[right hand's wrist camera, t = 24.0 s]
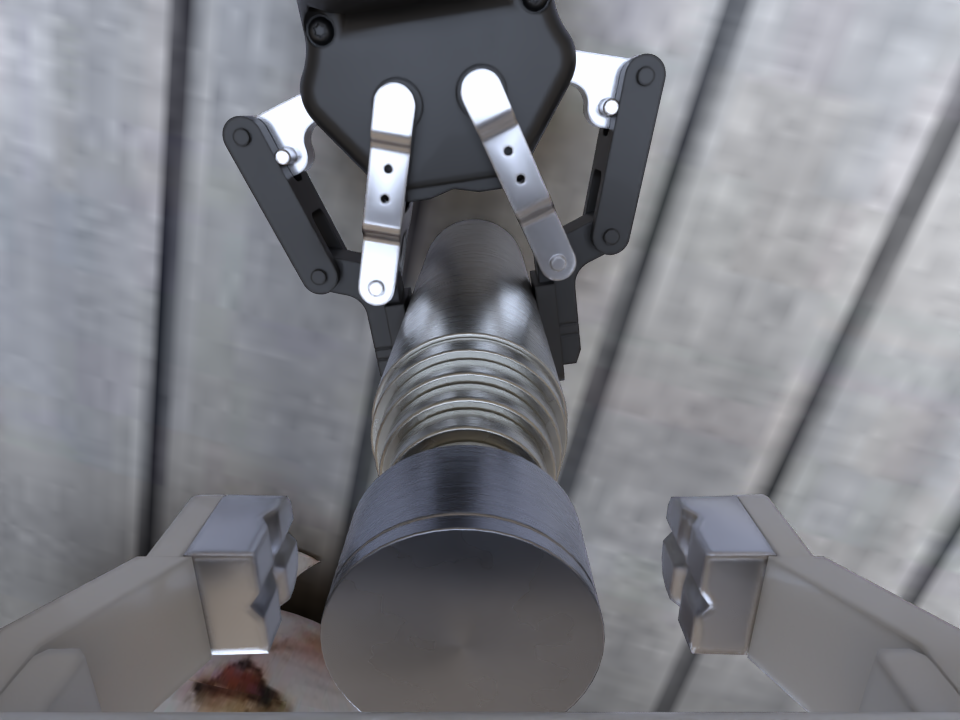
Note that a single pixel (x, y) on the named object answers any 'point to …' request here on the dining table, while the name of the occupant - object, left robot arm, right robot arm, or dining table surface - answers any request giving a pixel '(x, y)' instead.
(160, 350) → the dining table surface
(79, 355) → the dining table surface
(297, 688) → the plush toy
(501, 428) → the bottle
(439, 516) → the cap
